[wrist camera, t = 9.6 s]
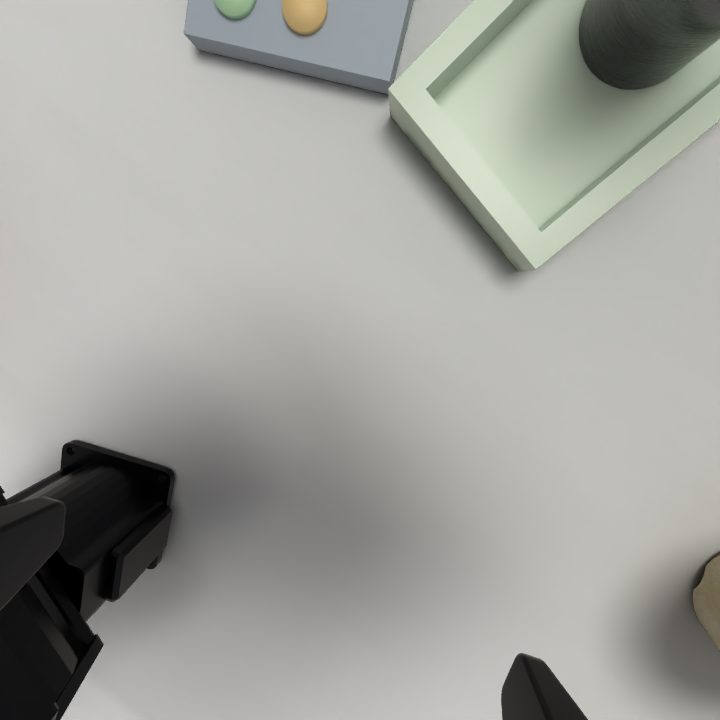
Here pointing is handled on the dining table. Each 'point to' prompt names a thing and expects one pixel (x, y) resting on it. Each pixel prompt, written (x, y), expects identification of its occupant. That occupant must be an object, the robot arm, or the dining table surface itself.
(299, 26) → the checker pad
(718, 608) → the flower pot
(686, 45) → the cell
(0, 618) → the robot arm
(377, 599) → the dining table surface
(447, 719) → the dining table surface
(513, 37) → the trough
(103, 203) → the dining table surface
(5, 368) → the dining table surface
